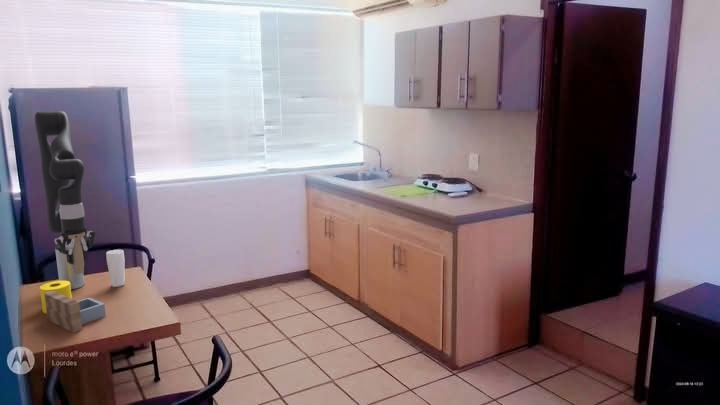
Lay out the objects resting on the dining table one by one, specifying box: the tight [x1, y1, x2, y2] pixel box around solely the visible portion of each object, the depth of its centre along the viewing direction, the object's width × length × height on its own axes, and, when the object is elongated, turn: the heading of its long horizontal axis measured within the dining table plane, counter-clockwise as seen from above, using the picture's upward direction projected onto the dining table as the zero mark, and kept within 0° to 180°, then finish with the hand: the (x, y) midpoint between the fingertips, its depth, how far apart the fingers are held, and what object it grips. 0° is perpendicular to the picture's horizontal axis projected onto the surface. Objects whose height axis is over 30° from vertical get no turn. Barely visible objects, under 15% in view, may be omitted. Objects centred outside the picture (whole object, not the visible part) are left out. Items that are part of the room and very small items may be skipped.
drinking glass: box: [105, 249, 126, 288], centre depth 222 cm, size 7×7×15 cm
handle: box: [68, 232, 86, 274], centre depth 187 cm, size 5×6×15 cm
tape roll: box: [39, 280, 73, 314], centre depth 198 cm, size 10×10×9 cm
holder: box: [76, 297, 107, 325], centre depth 191 cm, size 11×11×5 cm
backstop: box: [44, 291, 83, 334], centre depth 184 cm, size 19×3×10 cm, turn 54°
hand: (77, 262), depth 187 cm, fingers closed on handle, 4 cm apart
